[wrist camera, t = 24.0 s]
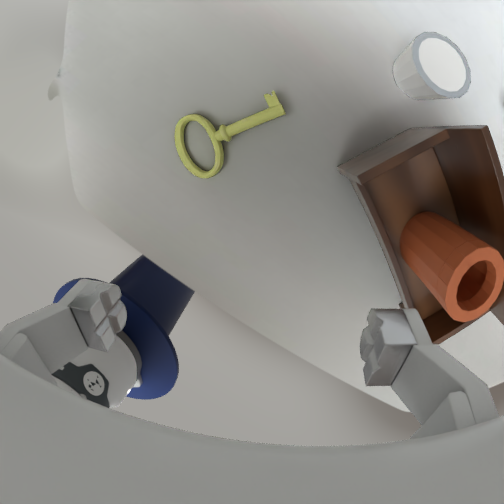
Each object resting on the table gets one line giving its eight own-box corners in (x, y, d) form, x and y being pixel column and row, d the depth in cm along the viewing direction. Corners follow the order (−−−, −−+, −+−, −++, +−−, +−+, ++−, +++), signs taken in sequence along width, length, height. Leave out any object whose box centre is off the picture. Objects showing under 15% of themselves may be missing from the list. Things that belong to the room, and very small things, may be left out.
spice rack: (400, 308, 33) (440, 384, 20) (336, 167, 28) (376, 185, 15) (460, 273, 30) (517, 331, 17) (410, 128, 25) (487, 125, 12)
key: (291, 111, 26) (291, 108, 24) (204, 185, 30) (198, 188, 28) (245, 64, 25) (242, 58, 23) (163, 140, 29) (155, 140, 27)
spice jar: (409, 278, 26) (451, 335, 17) (390, 228, 24) (438, 274, 15) (453, 251, 24) (506, 296, 15) (438, 201, 23) (500, 232, 13)
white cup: (381, 89, 24) (406, 76, 17) (393, 40, 21) (416, 19, 15) (433, 115, 24) (466, 111, 17) (443, 67, 21) (474, 55, 15)
